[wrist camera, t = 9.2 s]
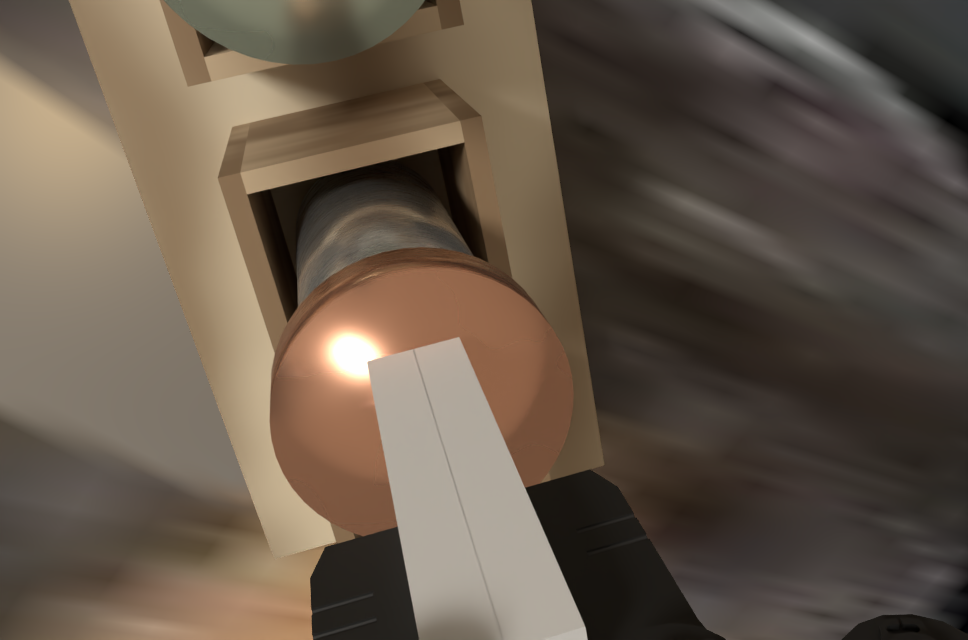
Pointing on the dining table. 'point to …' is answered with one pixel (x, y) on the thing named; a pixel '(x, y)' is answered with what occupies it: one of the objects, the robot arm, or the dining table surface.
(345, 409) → the terracotta plunger
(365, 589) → the robot arm
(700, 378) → the dining table surface
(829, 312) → the dining table surface
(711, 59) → the dining table surface
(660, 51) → the dining table surface
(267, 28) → the sage plunger
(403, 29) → the beige boxy slotted piece
